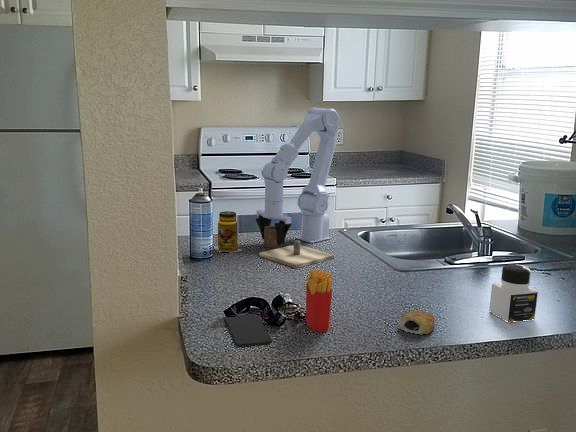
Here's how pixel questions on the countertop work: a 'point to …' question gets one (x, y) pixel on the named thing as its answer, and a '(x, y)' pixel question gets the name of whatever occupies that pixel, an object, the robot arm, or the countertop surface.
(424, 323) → the pastry
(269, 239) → the collar
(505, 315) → the medicine bottle
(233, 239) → the condiment
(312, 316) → the french fries
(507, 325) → the countertop surface
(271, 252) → the post board
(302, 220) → the robot arm
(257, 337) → the phone
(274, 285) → the countertop surface
